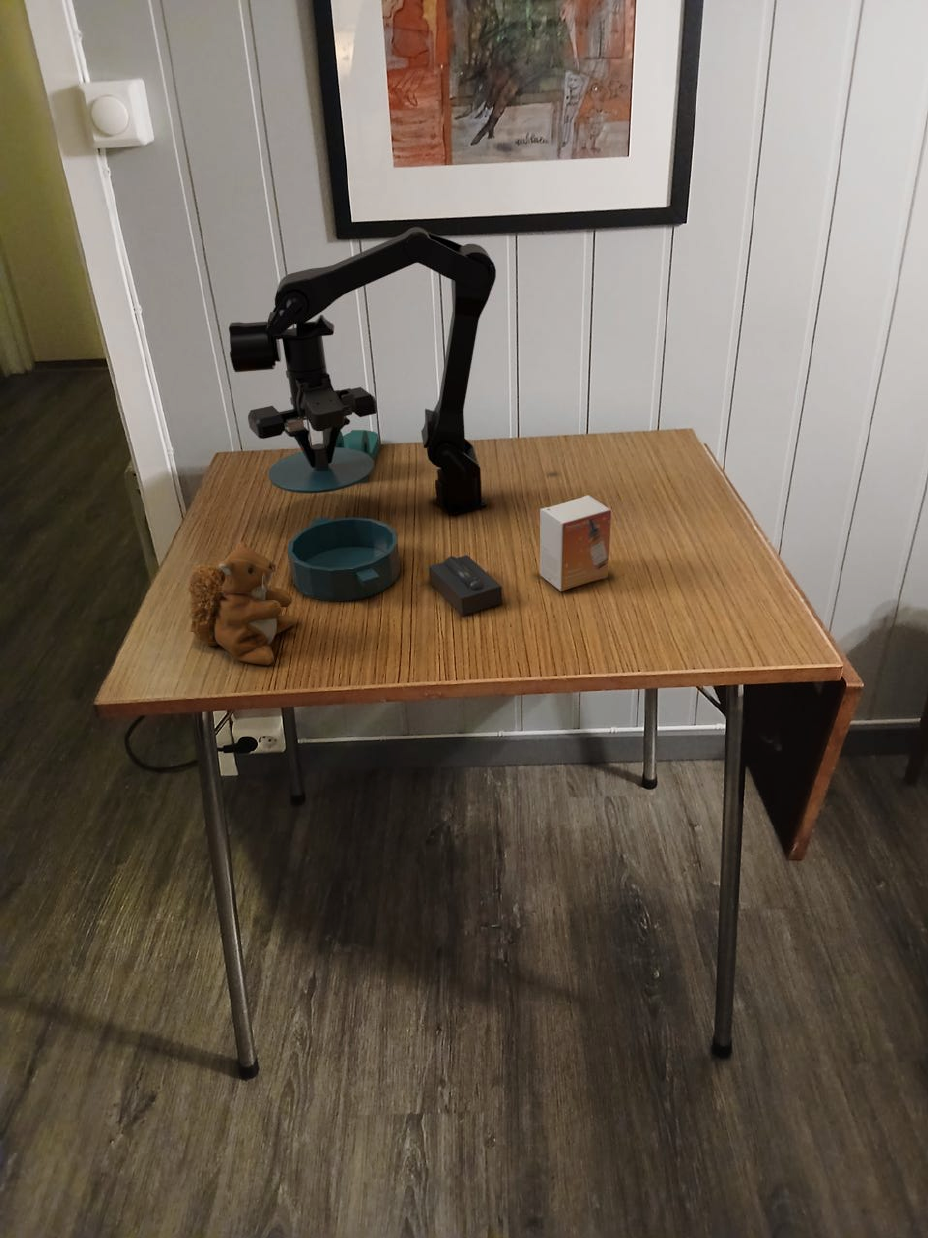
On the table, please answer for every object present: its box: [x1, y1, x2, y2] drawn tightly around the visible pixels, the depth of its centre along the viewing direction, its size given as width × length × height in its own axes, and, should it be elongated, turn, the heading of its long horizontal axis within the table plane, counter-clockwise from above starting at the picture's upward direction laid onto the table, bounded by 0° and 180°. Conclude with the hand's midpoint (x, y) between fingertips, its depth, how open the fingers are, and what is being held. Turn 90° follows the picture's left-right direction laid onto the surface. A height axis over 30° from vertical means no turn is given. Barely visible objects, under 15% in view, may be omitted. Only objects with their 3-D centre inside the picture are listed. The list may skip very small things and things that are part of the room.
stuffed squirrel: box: [188, 541, 295, 666], centre depth 117 cm, size 10×14×13 cm
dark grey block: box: [428, 554, 503, 617], centre depth 126 cm, size 6×10×4 cm, turn 27°
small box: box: [539, 494, 612, 592], centre depth 127 cm, size 8×6×10 cm
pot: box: [286, 516, 401, 602], centre depth 132 cm, size 15×21×5 cm
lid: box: [268, 442, 375, 494], centre depth 144 cm, size 16×16×5 cm
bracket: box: [322, 429, 381, 483], centre depth 165 cm, size 18×7×8 cm, turn 174°
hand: (320, 464), depth 145 cm, fingers closed on lid, 2 cm apart
